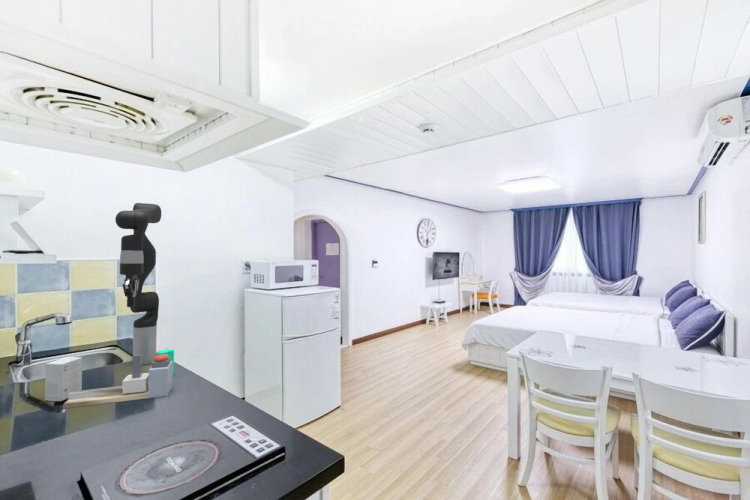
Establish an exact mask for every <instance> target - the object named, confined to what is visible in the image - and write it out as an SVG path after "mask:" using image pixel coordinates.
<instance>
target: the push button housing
mask: <svg viewBox="0 0 750 500" xmlns="http://www.w3.org/2000/svg"><path fill="white" fill-rule="evenodd" d="M148 373H149V380H148V398H147V399H152V398H153V399H154V398H162V397H167V396H168V395H169V393H170V392H171V390H172V388H173V376H172V361H170V358H168V359H167V360H165V361H153V362H152V363H151V367H150V368H149V369H148Z"/></svg>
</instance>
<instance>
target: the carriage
mask: <svg viewBox="0 0 750 500" xmlns="http://www.w3.org/2000/svg"><path fill="white" fill-rule="evenodd" d="M131 361H132V362H131V363H132V367H131V371H132V372H131V374H128V375H126V377H125V378H124V379H123V380H122V381H121V383H122V384H121V386H122V389H123V394H126V393H135V392H144V391H146V390H147V384H148V380H149V372H143V371H142V370H143V365H142V354H134V355H133V354H132V359H131Z"/></svg>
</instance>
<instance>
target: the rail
mask: <svg viewBox="0 0 750 500" xmlns="http://www.w3.org/2000/svg"><path fill="white" fill-rule="evenodd" d="M143 399H144V400H145V399H149V398H148V384H147V390H146V391H144V392H135V393H126V394H123V389H122V385H120V386H111V387H102V388H101V387H99V388H92V389H83V390H81V391H72V392H70V393H69V394H68V398H67V400H66V401H65V402H64V403H63V407H62V408H63V409H70V408H79V407H86V406H94V405H95V406H96V405H104V404H112V403H120V402H129V401H136V400H143Z"/></svg>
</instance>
